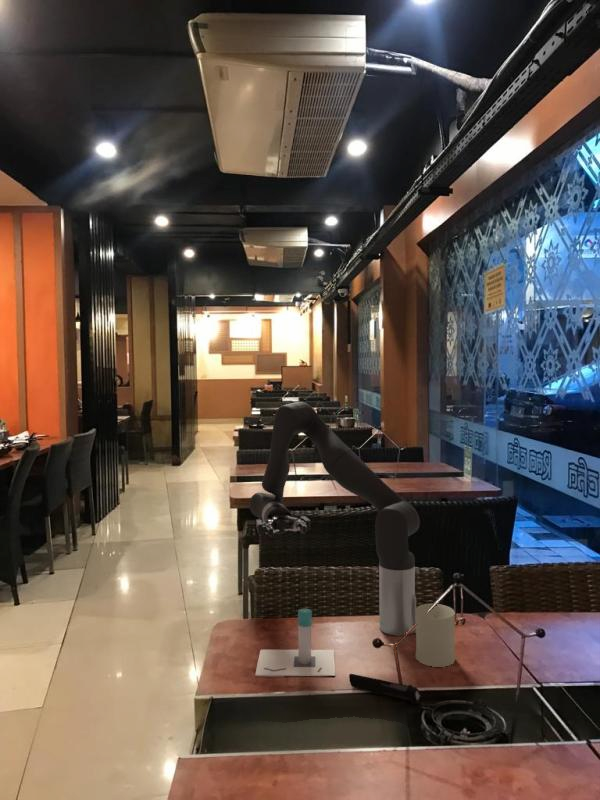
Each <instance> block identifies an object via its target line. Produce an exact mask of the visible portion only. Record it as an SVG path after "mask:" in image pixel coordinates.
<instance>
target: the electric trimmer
mask: <svg viewBox="0 0 600 800" xmlns="http://www.w3.org/2000/svg"><path fill="white" fill-rule="evenodd" d="M348 679H349V683H350V686H351V687H354V688H356V689H359V690H361V691H365V692H368V693H370V694H373V695H376V696H377V695H386V696H389V697H393V698H398V699H400V700H405V701H409V702H410V703H411V705H419V703H420V702H421V699H422V695H421V692H420V690H419V689H418V688H417V687H416V686H415V687H414V686H413V685H412V684H408V685H407V684H402V683H398V682H397V683H396V682H392V681H387V680H382V679H380V678H379V679H378V678H374V677H369V676H364V675H361V674H360V675H359V674H354V673H349V675H348Z"/></svg>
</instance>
